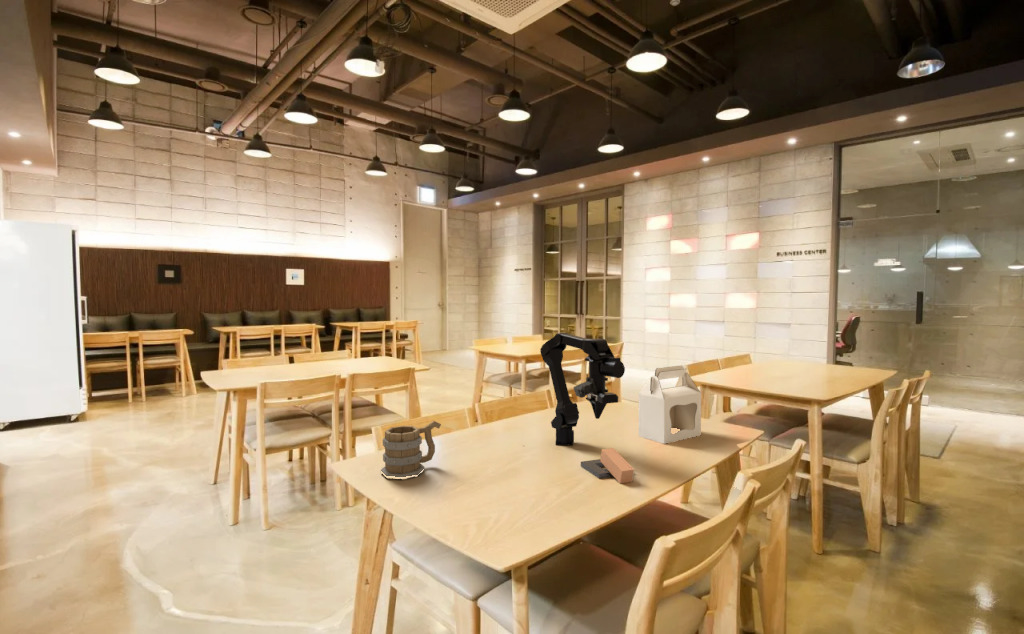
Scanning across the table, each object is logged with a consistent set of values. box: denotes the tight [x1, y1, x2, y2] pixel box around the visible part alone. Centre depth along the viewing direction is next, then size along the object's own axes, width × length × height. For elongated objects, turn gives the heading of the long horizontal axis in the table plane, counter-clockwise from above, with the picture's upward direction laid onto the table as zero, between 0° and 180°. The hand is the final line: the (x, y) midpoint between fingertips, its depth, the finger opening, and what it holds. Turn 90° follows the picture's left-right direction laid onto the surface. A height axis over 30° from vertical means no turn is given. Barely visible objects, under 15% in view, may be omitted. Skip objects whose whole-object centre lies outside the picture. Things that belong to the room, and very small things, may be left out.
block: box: [599, 447, 635, 484], centre depth 148 cm, size 4×4×12 cm
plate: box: [580, 458, 615, 480], centre depth 154 cm, size 12×12×2 cm
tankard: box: [380, 420, 442, 477], centre depth 155 cm, size 20×13×15 cm, turn 123°
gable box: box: [638, 365, 702, 445], centre depth 192 cm, size 22×13×28 cm, turn 122°
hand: (597, 418), depth 169 cm, fingers closed
